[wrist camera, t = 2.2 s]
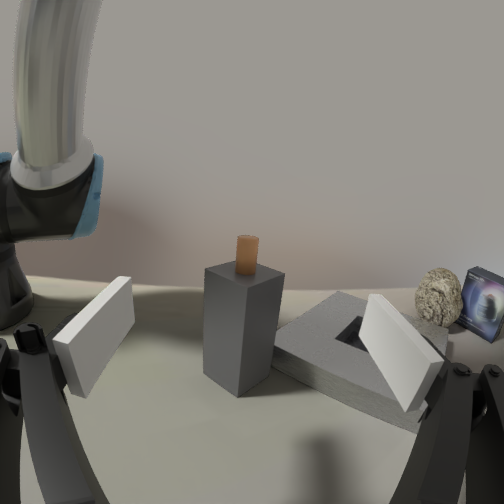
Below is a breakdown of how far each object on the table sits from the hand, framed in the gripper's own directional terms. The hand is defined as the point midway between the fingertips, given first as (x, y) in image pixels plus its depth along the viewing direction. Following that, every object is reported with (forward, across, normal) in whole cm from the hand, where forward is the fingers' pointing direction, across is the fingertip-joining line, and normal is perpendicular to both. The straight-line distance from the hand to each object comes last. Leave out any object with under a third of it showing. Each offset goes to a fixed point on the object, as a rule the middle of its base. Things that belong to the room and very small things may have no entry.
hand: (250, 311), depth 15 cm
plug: (+10, 0, -13) cm, 17 cm away
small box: (+19, +44, -14) cm, 50 cm away
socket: (+14, +16, -14) cm, 26 cm away
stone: (+22, +33, -14) cm, 42 cm away
